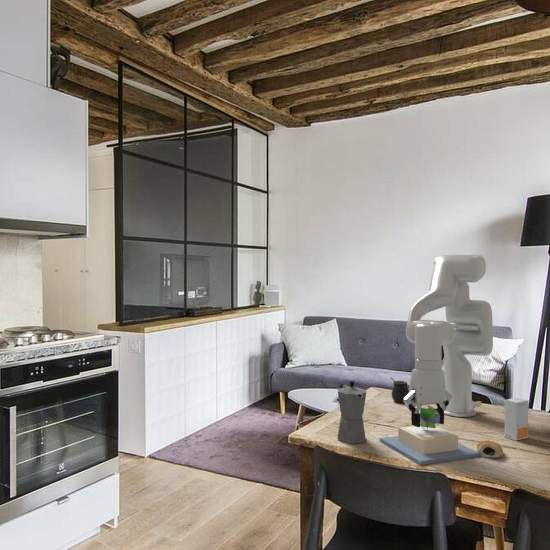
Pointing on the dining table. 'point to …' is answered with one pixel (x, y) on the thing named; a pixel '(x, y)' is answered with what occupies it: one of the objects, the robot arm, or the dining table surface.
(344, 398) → the coffeepot
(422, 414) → the geometric puzzle
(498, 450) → the pastry
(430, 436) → the board
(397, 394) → the mate gourd
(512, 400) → the skincare box
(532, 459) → the dining table surface
